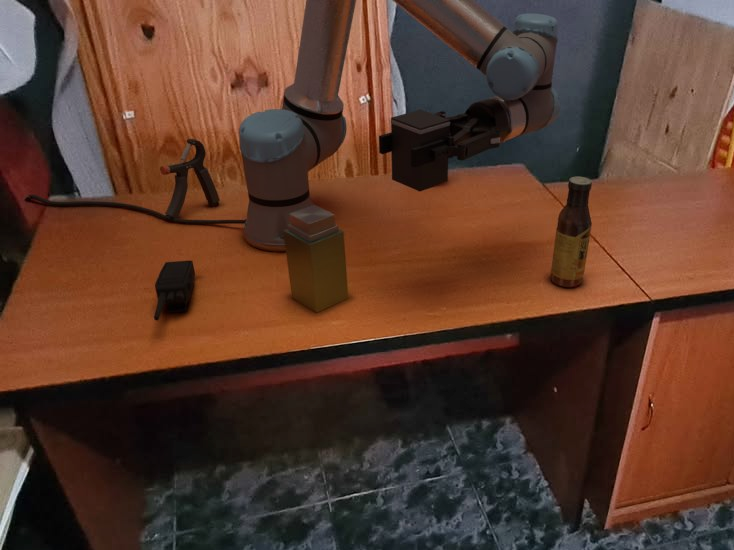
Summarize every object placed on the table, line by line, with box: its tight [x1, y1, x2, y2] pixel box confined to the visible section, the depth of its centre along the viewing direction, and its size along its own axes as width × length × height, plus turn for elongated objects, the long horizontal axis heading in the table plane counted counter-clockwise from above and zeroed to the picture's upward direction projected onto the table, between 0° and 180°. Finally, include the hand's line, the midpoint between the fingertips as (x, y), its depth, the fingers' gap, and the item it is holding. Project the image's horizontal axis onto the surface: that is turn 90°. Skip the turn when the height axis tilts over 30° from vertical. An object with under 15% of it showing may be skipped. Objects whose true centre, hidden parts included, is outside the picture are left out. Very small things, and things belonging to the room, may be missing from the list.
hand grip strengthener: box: [159, 138, 221, 220], centre depth 141 cm, size 2×12×15 cm, turn 146°
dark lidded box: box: [390, 109, 450, 192], centre depth 109 cm, size 6×6×10 cm
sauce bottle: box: [550, 175, 593, 288], centre depth 125 cm, size 7×6×20 cm
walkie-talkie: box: [153, 259, 196, 321], centre depth 115 cm, size 6×6×20 cm
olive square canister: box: [283, 204, 349, 314], centre depth 117 cm, size 7×7×16 cm
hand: (396, 151), depth 105 cm, fingers closed on dark lidded box, 6 cm apart
